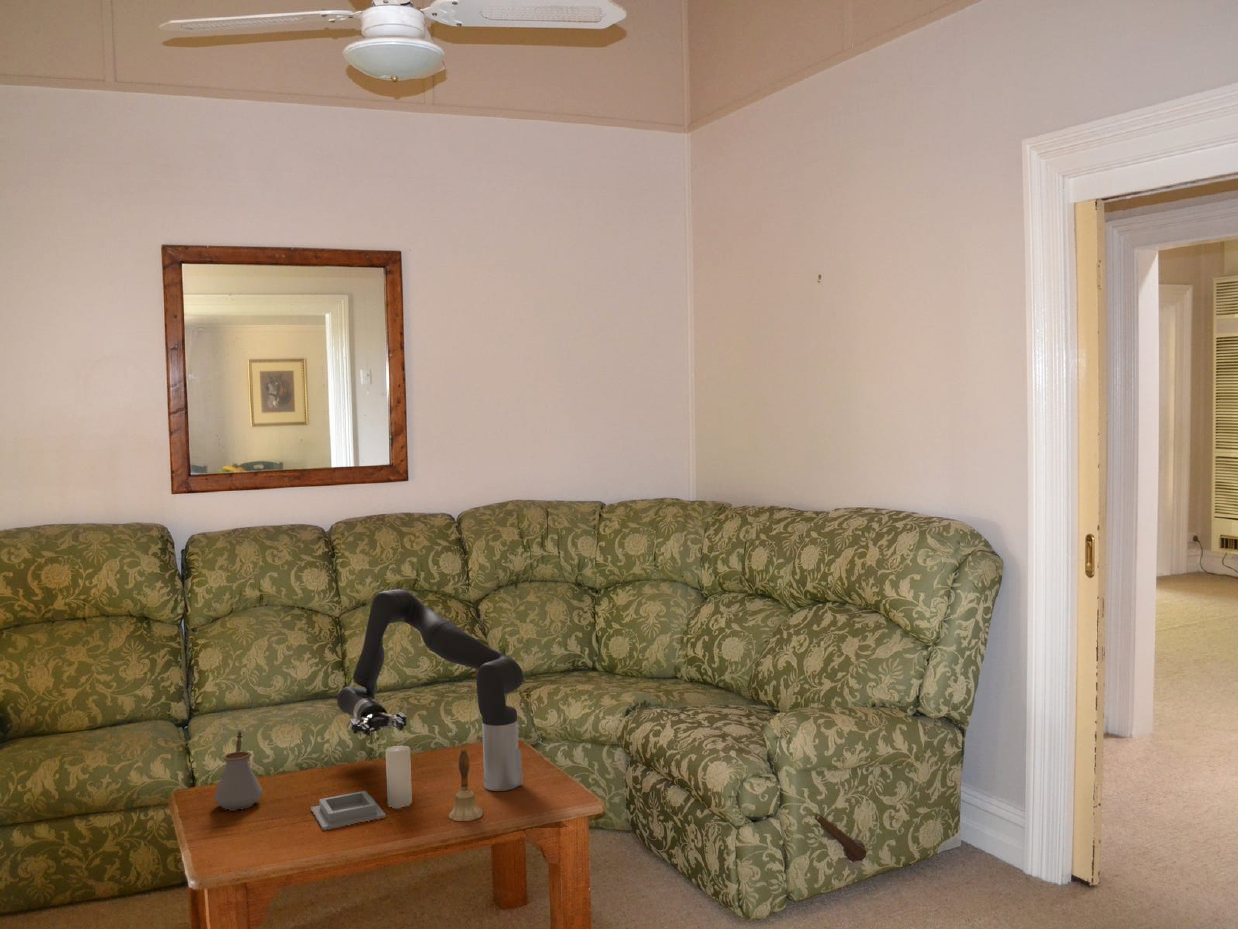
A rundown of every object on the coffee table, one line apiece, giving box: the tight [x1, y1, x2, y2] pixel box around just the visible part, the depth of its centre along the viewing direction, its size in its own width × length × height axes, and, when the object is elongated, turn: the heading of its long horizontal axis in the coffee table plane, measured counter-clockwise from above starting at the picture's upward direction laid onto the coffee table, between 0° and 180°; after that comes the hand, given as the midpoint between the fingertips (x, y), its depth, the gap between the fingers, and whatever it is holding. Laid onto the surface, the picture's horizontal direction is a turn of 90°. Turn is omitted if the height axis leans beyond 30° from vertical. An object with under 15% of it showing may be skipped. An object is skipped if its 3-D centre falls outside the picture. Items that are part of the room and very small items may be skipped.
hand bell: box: [448, 749, 484, 822], centre depth 256 cm, size 8×8×16 cm
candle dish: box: [310, 790, 387, 831], centre depth 260 cm, size 15×15×3 cm
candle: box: [385, 745, 413, 809], centre depth 265 cm, size 6×6×14 cm
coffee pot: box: [214, 730, 263, 811], centre depth 273 cm, size 21×12×15 cm, turn 16°
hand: (385, 729), depth 276 cm, fingers open, 8 cm apart
